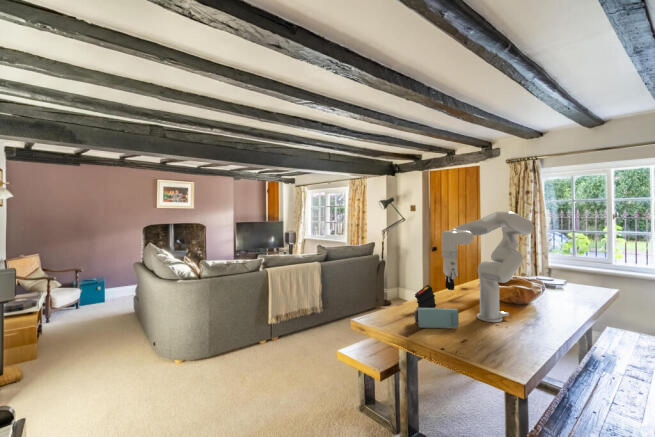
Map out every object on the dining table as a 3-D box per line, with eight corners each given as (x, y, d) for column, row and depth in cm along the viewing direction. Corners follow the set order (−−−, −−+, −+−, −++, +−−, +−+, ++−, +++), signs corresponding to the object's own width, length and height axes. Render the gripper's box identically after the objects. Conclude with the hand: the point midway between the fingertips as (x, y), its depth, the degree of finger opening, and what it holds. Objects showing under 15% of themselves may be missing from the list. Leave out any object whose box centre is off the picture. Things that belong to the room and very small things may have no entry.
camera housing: (443, 322, 164) (442, 307, 164) (447, 327, 157) (446, 312, 157) (414, 322, 165) (414, 307, 165) (416, 327, 158) (416, 312, 158)
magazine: (440, 306, 185) (431, 285, 182) (424, 318, 181) (415, 297, 178) (435, 304, 189) (427, 284, 186) (420, 316, 184) (411, 296, 181)
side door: (457, 327, 156) (457, 308, 156) (458, 328, 154) (458, 310, 154) (418, 326, 158) (417, 308, 158) (419, 328, 156) (418, 309, 155)
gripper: (462, 256, 151) (462, 293, 152) (452, 252, 168) (452, 285, 168) (446, 256, 152) (447, 293, 153) (438, 252, 168) (438, 285, 169)
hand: (449, 288), depth 161 cm, fingers open, 3 cm apart
